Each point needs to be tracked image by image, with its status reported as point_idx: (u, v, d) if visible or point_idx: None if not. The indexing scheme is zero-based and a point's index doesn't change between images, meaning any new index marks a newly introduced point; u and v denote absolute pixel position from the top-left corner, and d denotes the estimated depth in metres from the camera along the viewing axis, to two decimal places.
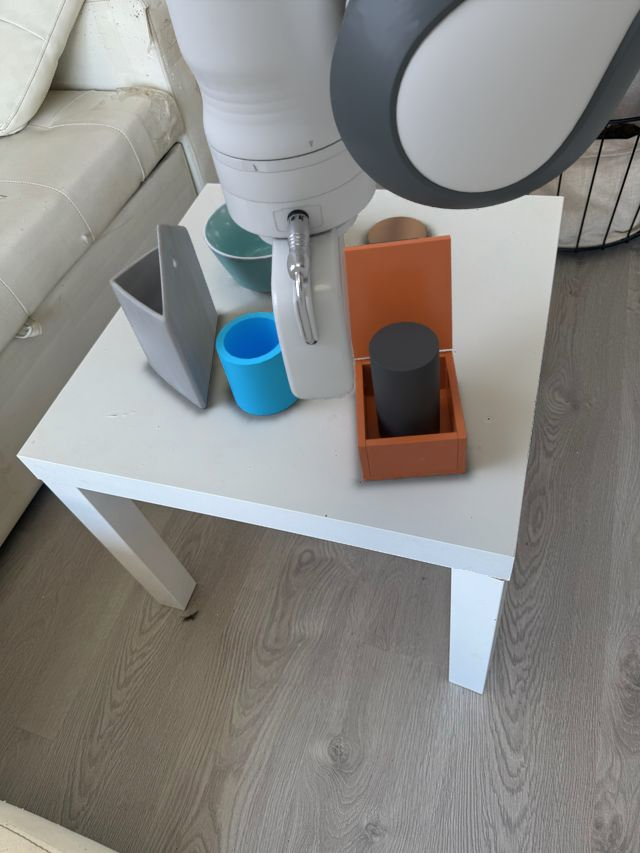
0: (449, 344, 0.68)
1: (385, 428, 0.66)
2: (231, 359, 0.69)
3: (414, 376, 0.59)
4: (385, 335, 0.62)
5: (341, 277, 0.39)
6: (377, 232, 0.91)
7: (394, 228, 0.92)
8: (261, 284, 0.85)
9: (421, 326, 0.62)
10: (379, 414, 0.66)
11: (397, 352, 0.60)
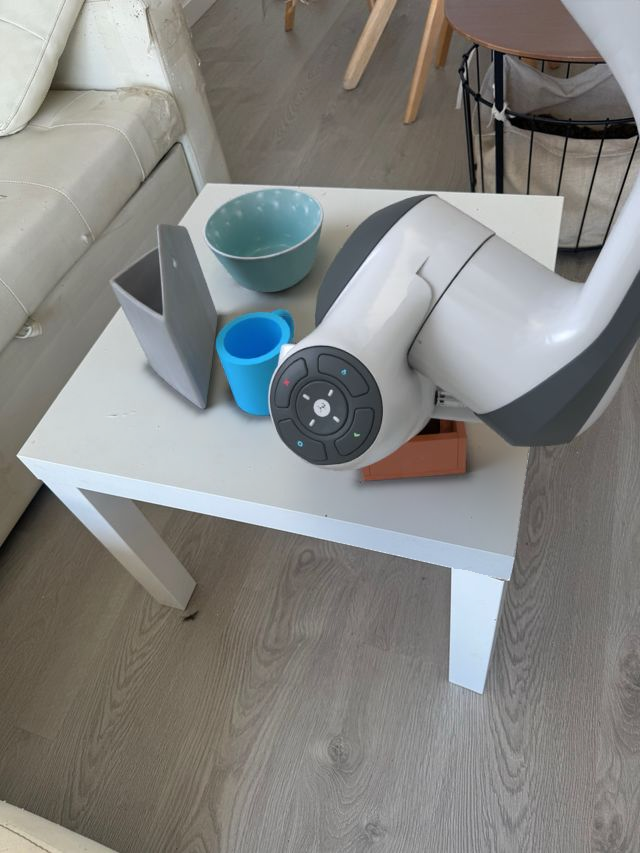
0: None
1: None
2: (231, 359, 0.69)
3: None
4: None
5: None
6: None
7: None
8: (261, 284, 0.85)
9: None
10: None
11: None
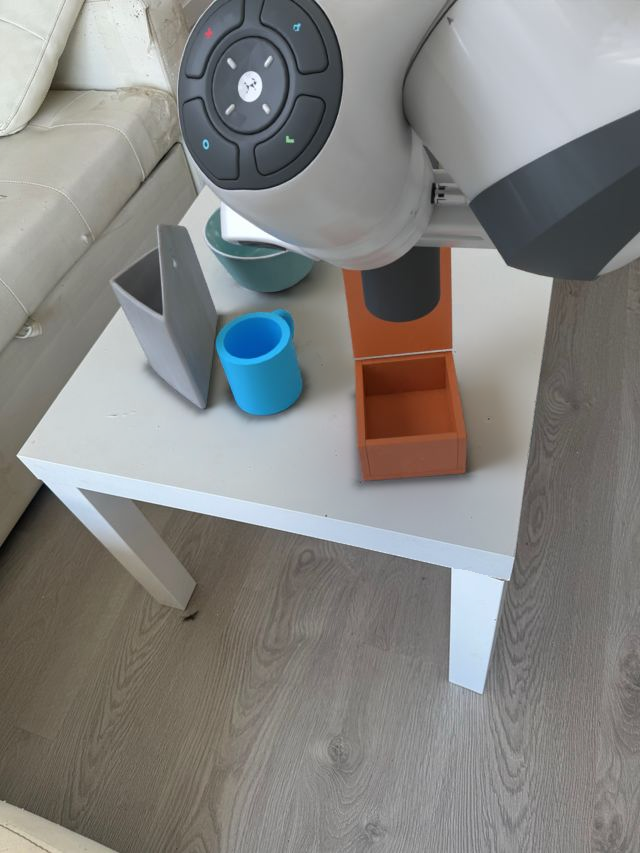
0: (449, 344, 0.68)
1: (371, 290, 0.53)
2: (231, 359, 0.69)
3: None
4: None
5: None
6: None
7: None
8: (261, 284, 0.85)
9: None
10: (364, 271, 0.52)
11: None
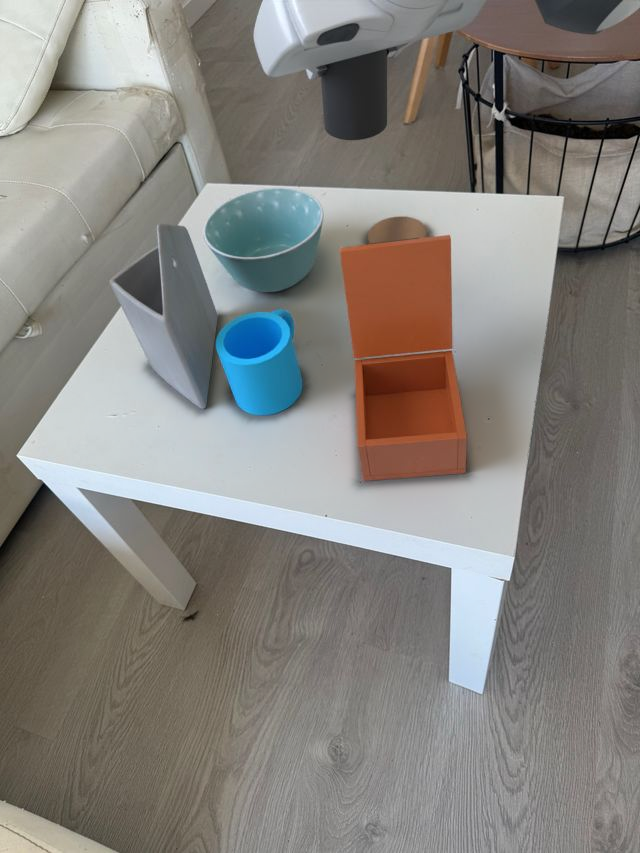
0: (449, 344, 0.68)
1: (348, 112, 0.64)
2: (231, 359, 0.69)
3: None
4: None
5: None
6: (377, 232, 0.91)
7: (394, 228, 0.92)
8: (261, 284, 0.85)
9: None
10: (339, 96, 0.63)
11: None
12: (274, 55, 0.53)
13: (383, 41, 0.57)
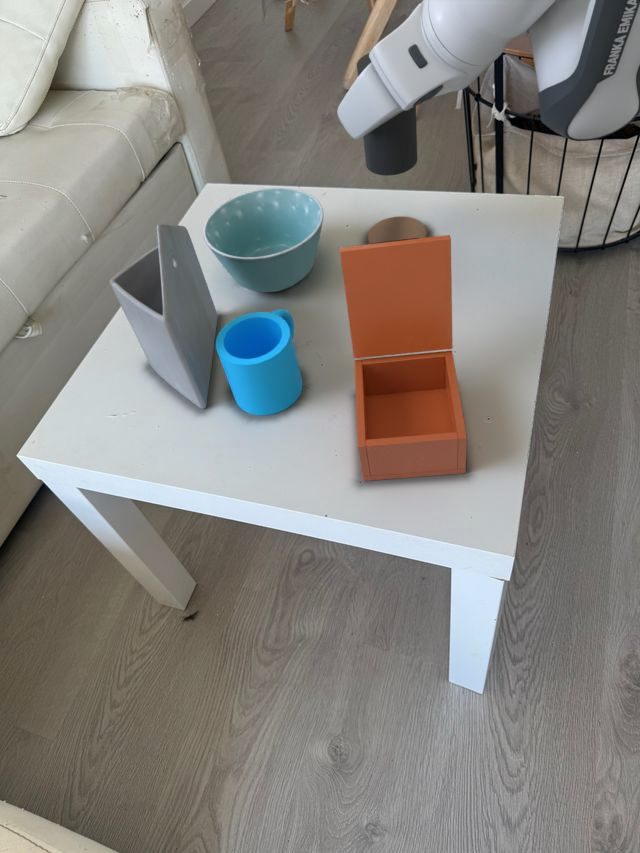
0: (449, 344, 0.68)
1: (396, 153, 0.79)
2: (231, 359, 0.69)
3: None
4: (365, 65, 0.73)
5: None
6: (377, 232, 0.91)
7: (394, 228, 0.92)
8: (261, 284, 0.85)
9: None
10: (388, 142, 0.78)
11: None
12: (371, 122, 0.67)
13: None
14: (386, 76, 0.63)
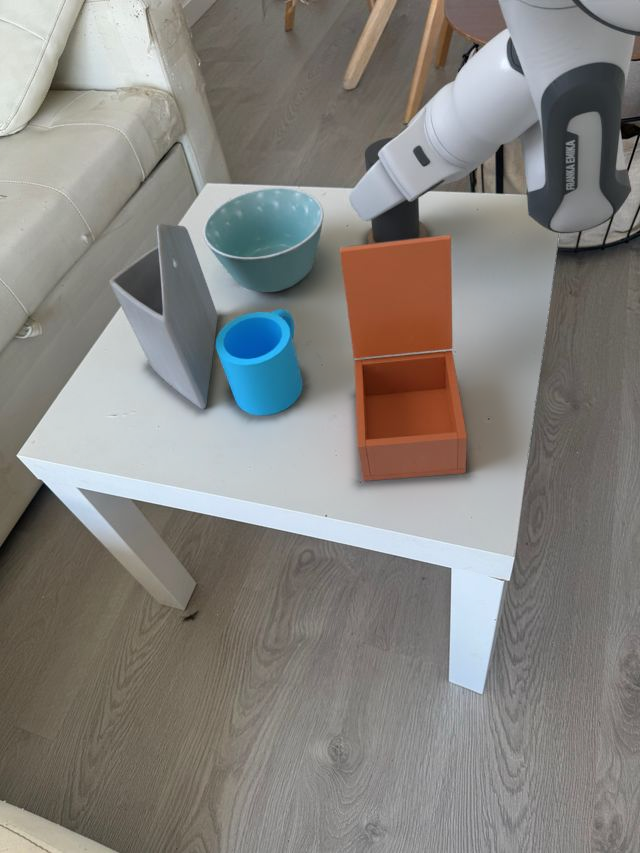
0: (449, 344, 0.68)
1: (400, 229, 0.87)
2: (231, 359, 0.69)
3: None
4: (373, 155, 0.81)
5: None
6: None
7: None
8: (261, 284, 0.85)
9: (381, 140, 0.83)
10: (393, 220, 0.86)
11: None
12: (379, 209, 0.75)
13: None
14: (393, 173, 0.71)
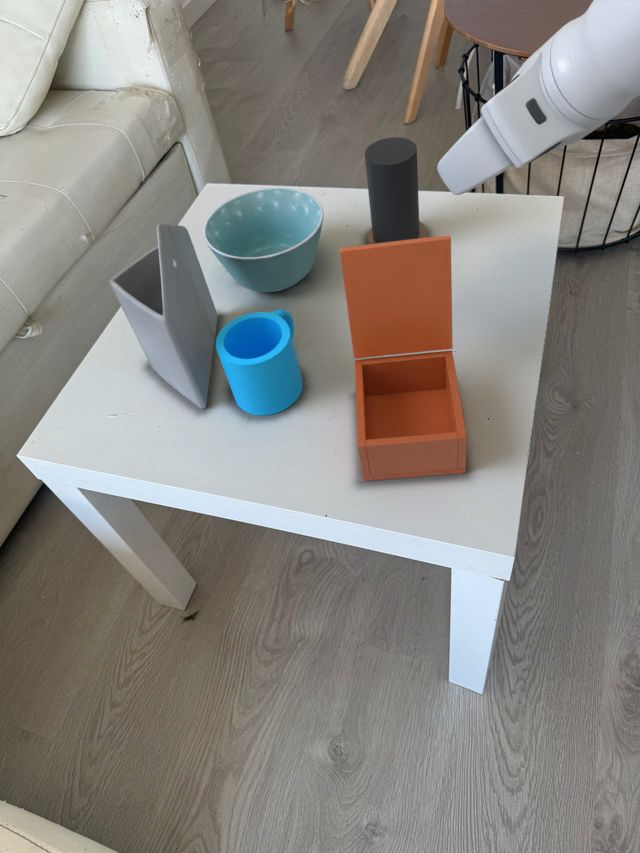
0: (449, 344, 0.68)
1: (400, 229, 0.87)
2: (231, 359, 0.69)
3: (416, 158, 0.81)
4: (373, 155, 0.81)
5: None
6: None
7: None
8: (261, 284, 0.85)
9: (381, 140, 0.83)
10: (393, 220, 0.86)
11: (393, 154, 0.81)
12: (478, 179, 0.62)
13: None
14: (501, 133, 0.58)
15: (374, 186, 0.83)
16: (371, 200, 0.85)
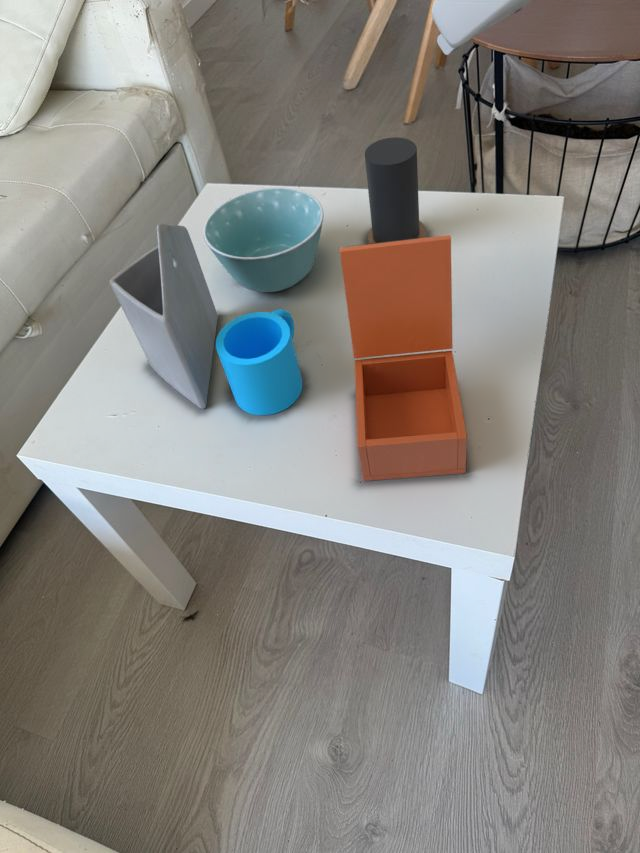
0: (449, 344, 0.68)
1: (400, 229, 0.87)
2: (231, 359, 0.69)
3: (416, 158, 0.81)
4: (373, 155, 0.81)
5: None
6: None
7: None
8: (261, 284, 0.85)
9: (381, 140, 0.83)
10: (393, 220, 0.86)
11: (393, 154, 0.81)
12: (481, 18, 0.50)
13: None
14: None
15: (374, 186, 0.83)
16: (371, 200, 0.85)
